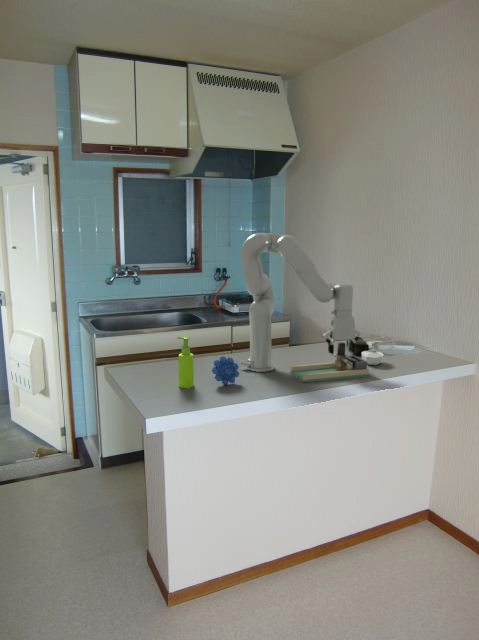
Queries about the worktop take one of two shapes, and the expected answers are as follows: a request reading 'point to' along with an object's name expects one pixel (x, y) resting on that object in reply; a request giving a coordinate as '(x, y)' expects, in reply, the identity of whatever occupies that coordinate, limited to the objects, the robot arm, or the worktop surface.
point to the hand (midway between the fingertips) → (341, 352)
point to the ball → (349, 367)
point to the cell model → (372, 356)
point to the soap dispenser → (186, 365)
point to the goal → (357, 362)
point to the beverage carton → (358, 347)
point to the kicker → (341, 358)
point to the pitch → (325, 372)
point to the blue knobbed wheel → (225, 370)
